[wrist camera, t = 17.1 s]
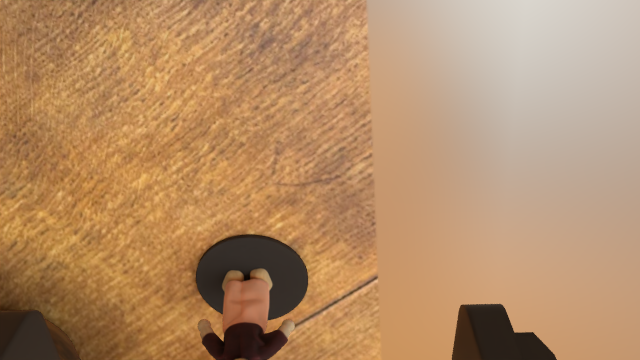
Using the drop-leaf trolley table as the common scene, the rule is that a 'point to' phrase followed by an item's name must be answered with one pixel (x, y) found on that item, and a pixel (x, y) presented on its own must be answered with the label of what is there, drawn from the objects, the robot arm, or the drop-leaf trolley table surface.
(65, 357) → the bowl
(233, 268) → the coaster
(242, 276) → the grandmother figurine
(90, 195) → the drop-leaf trolley table surface
